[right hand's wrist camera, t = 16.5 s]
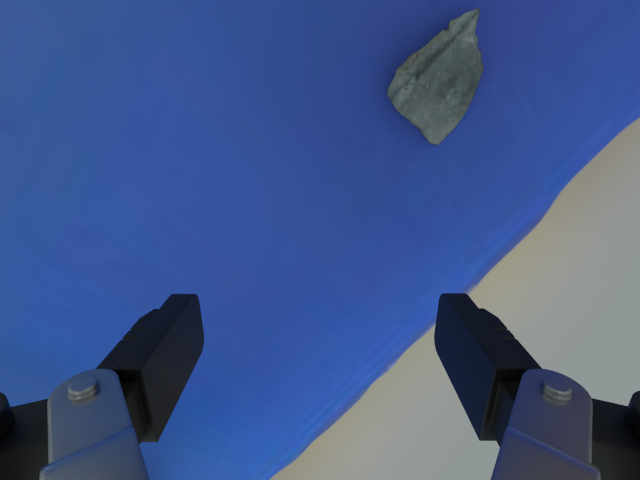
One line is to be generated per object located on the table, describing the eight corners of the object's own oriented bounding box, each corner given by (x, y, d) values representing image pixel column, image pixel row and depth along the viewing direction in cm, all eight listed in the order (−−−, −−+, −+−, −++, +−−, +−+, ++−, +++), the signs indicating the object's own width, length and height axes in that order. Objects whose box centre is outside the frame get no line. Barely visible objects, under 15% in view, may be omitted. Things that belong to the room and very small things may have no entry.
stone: (504, 66, 36) (453, -15, 31) (529, 73, 33) (476, -16, 28) (425, 143, 40) (368, 81, 35) (440, 156, 36) (380, 91, 31)
